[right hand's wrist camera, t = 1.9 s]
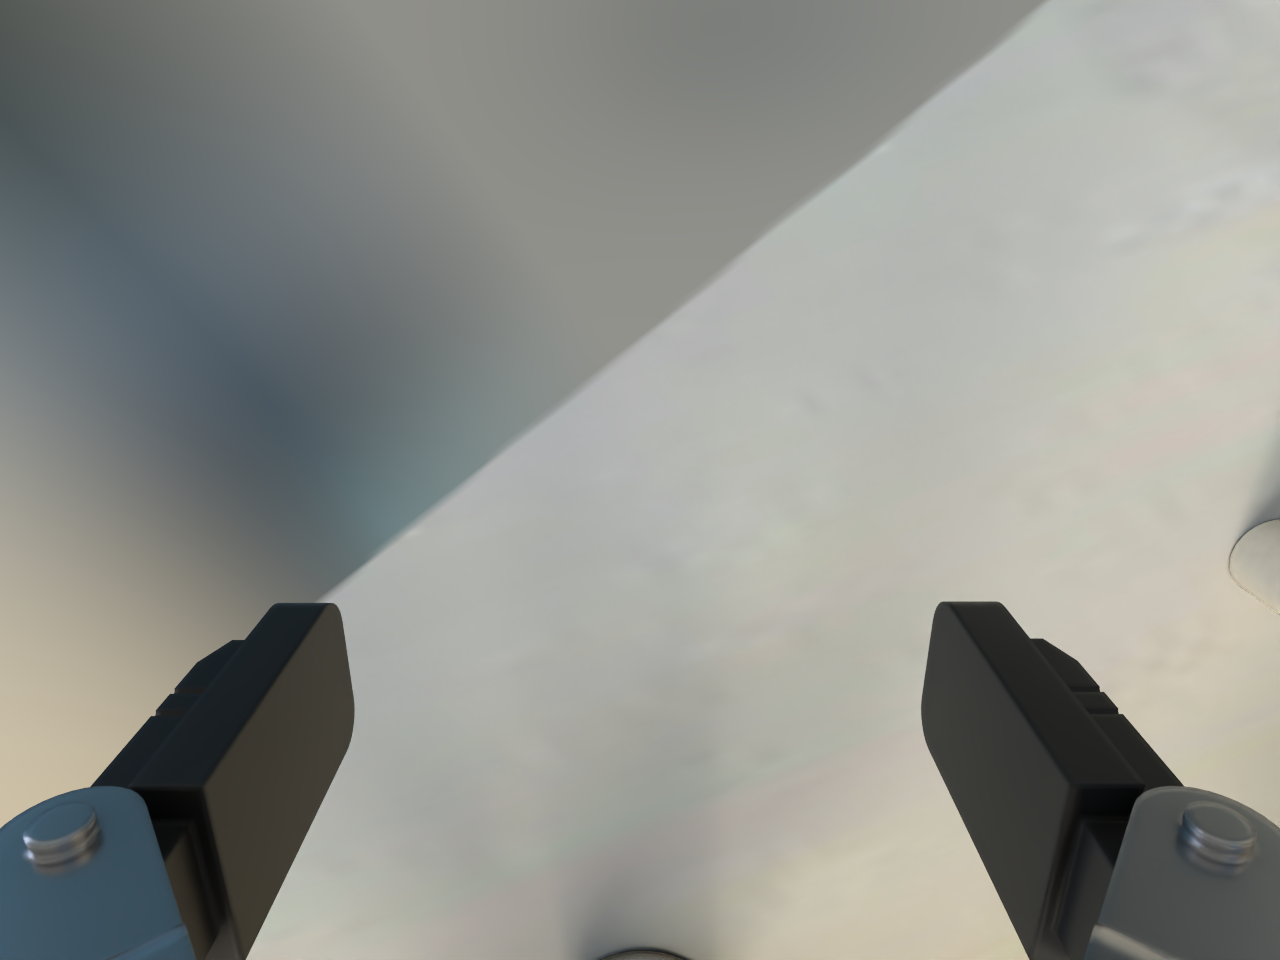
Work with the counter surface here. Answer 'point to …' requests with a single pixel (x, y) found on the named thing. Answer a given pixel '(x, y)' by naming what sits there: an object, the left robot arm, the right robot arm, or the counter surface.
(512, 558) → the counter surface
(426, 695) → the counter surface
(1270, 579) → the jar
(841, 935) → the counter surface
